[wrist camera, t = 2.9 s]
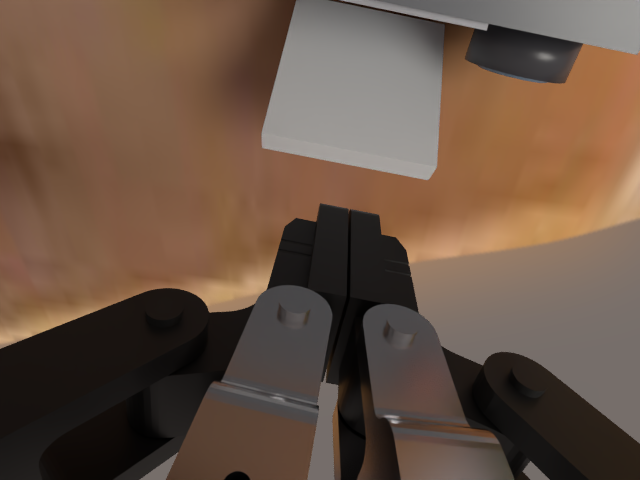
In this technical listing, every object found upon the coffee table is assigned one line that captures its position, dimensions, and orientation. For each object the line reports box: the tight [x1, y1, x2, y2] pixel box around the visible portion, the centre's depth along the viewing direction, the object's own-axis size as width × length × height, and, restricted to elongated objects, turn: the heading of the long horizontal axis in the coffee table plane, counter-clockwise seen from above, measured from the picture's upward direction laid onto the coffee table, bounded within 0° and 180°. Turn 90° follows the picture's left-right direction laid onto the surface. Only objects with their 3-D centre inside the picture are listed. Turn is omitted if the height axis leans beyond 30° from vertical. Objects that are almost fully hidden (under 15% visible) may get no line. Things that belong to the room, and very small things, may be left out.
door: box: [262, 0, 445, 180], centre depth 19 cm, size 1×7×8 cm
